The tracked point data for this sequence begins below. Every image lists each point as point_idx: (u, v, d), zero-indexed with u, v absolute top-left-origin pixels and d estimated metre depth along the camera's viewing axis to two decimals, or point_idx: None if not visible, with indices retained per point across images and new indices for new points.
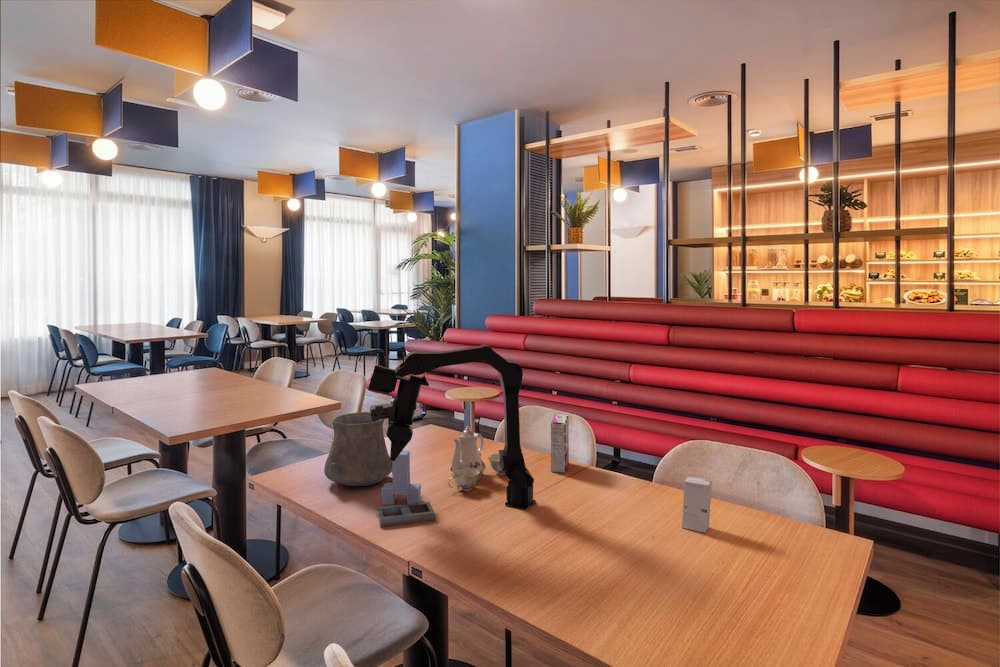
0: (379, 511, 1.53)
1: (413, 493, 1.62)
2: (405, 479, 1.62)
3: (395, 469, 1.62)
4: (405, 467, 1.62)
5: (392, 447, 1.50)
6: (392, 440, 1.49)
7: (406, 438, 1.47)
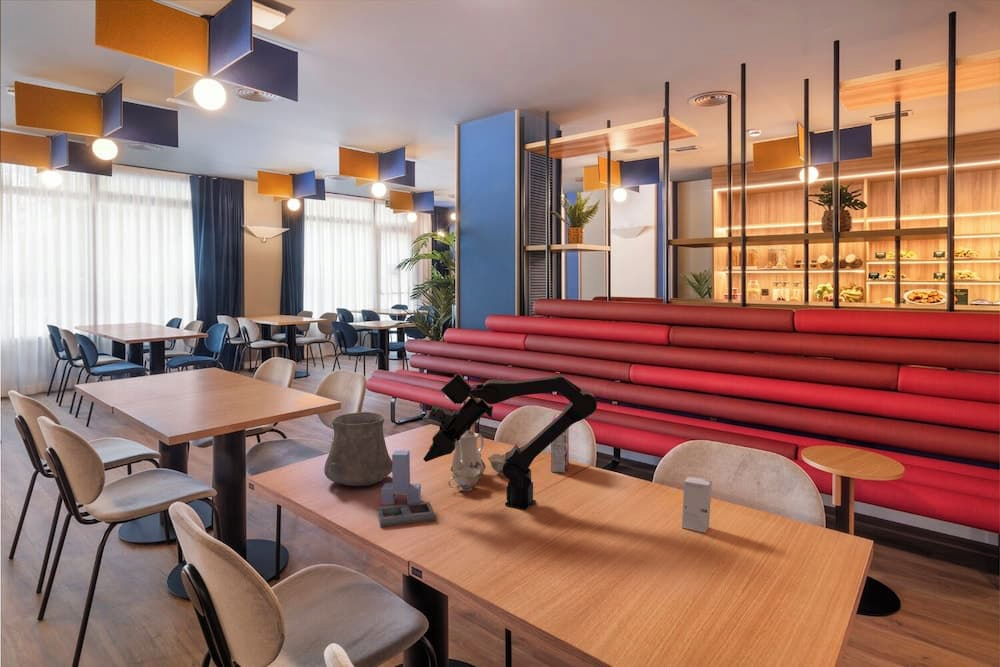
0: (379, 511, 1.53)
1: (413, 493, 1.62)
2: (405, 479, 1.62)
3: (395, 469, 1.62)
4: (405, 467, 1.62)
5: (431, 450, 1.57)
6: (434, 444, 1.56)
7: (446, 450, 1.53)
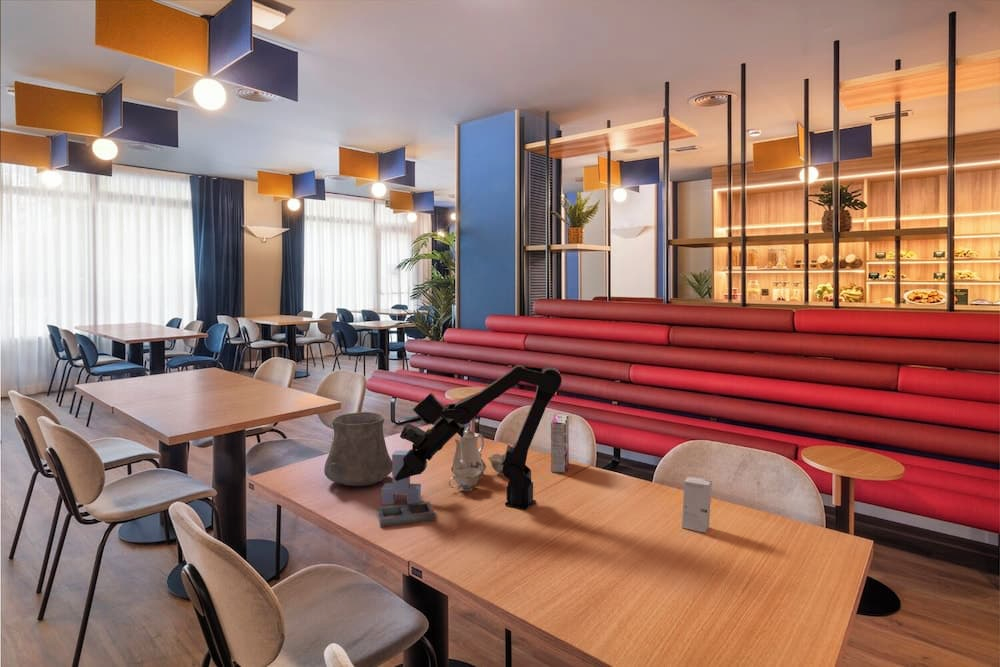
0: (379, 511, 1.53)
1: (413, 493, 1.62)
2: (405, 479, 1.62)
3: (395, 469, 1.62)
4: None
5: (402, 469, 1.58)
6: (405, 464, 1.57)
7: (417, 471, 1.54)
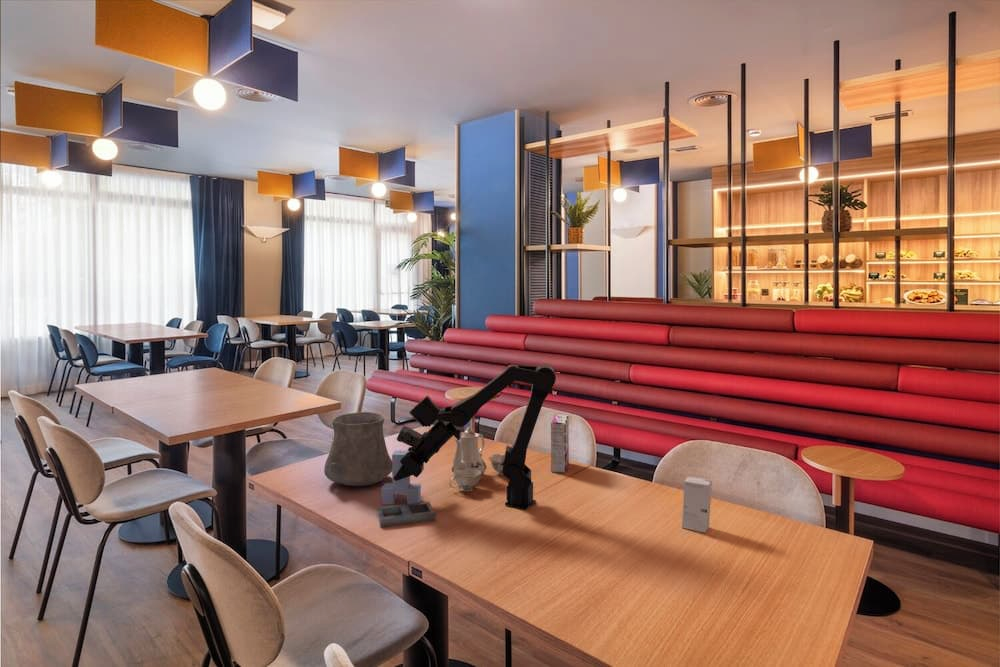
0: (379, 511, 1.53)
1: (413, 493, 1.62)
2: (405, 479, 1.62)
3: (395, 469, 1.62)
4: None
5: (400, 469, 1.60)
6: None
7: (413, 474, 1.54)
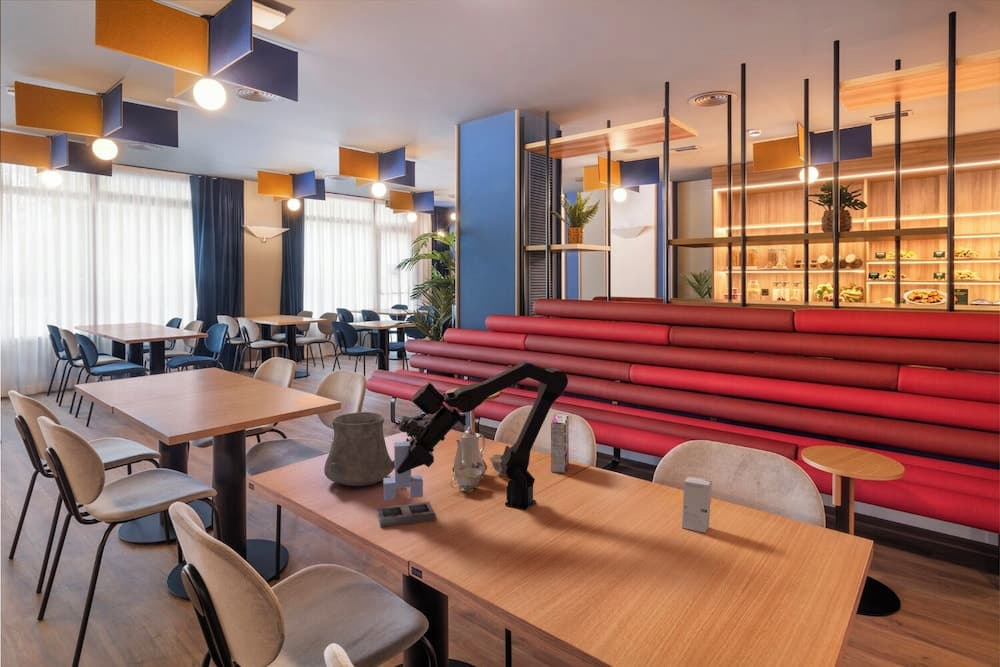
0: (379, 511, 1.53)
1: (418, 485, 1.54)
2: (409, 471, 1.54)
3: (398, 462, 1.53)
4: None
5: (406, 461, 1.52)
6: (410, 455, 1.51)
7: (426, 463, 1.47)
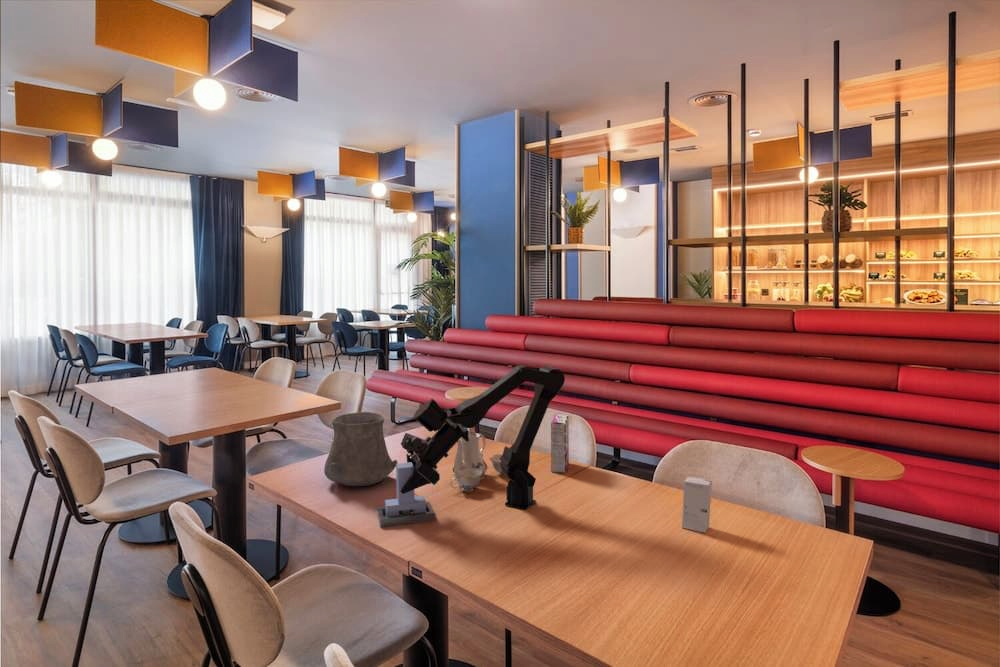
0: (379, 511, 1.53)
1: (421, 506, 1.53)
2: (412, 493, 1.52)
3: (401, 484, 1.51)
4: None
5: (410, 481, 1.49)
6: (415, 475, 1.48)
7: (432, 481, 1.45)
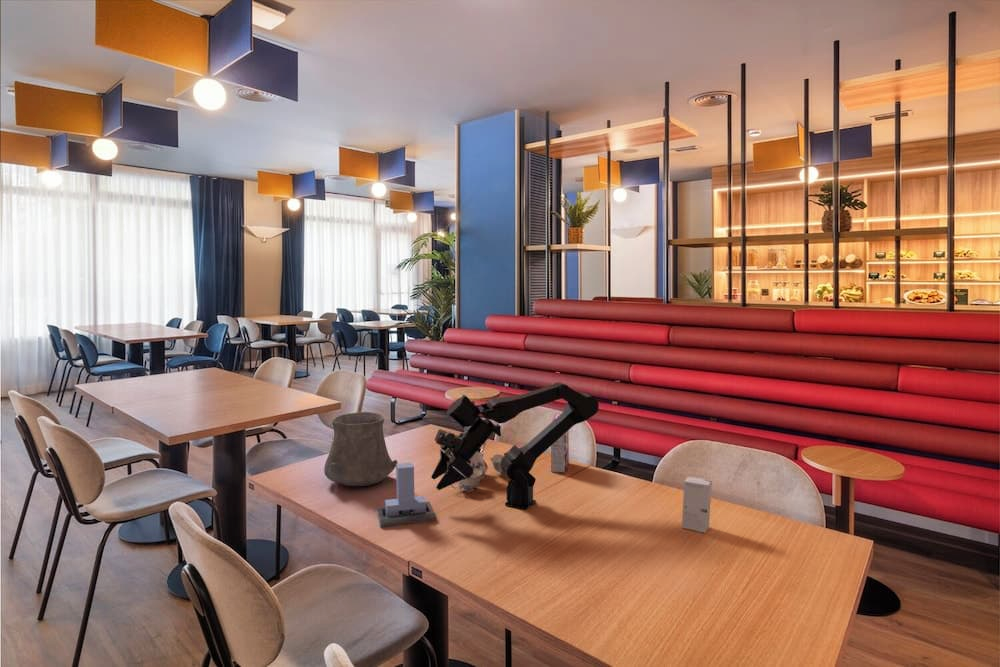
0: (379, 511, 1.53)
1: (421, 506, 1.53)
2: (412, 493, 1.52)
3: (401, 484, 1.51)
4: (412, 480, 1.51)
5: (445, 477, 1.50)
6: (450, 470, 1.50)
7: (466, 475, 1.48)
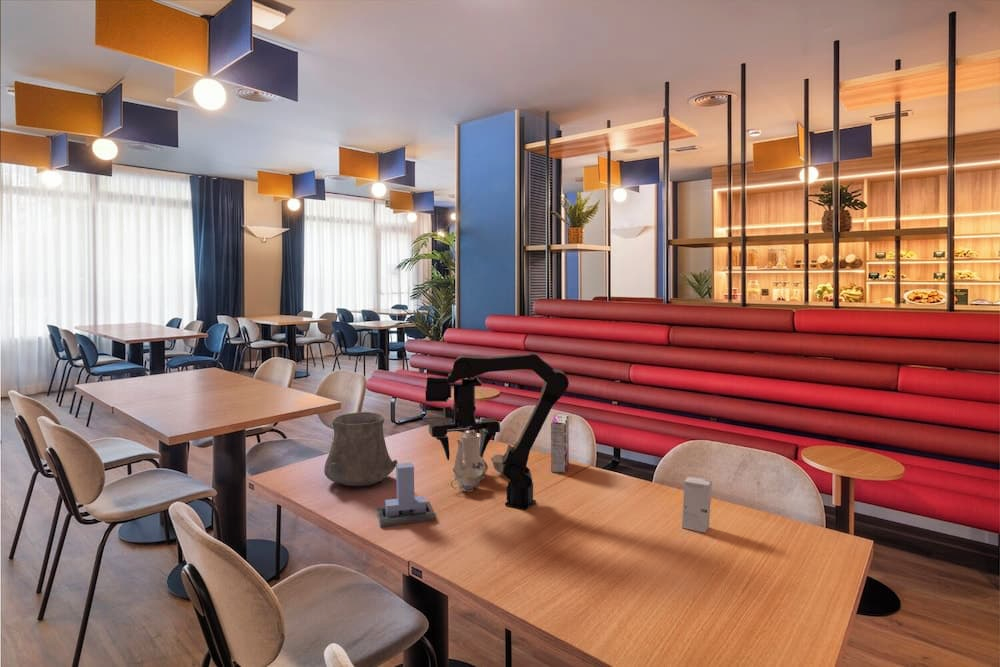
0: (379, 511, 1.53)
1: (421, 506, 1.53)
2: (412, 493, 1.52)
3: (401, 484, 1.51)
4: (412, 480, 1.51)
5: (442, 445, 1.60)
6: None
7: (431, 435, 1.56)
